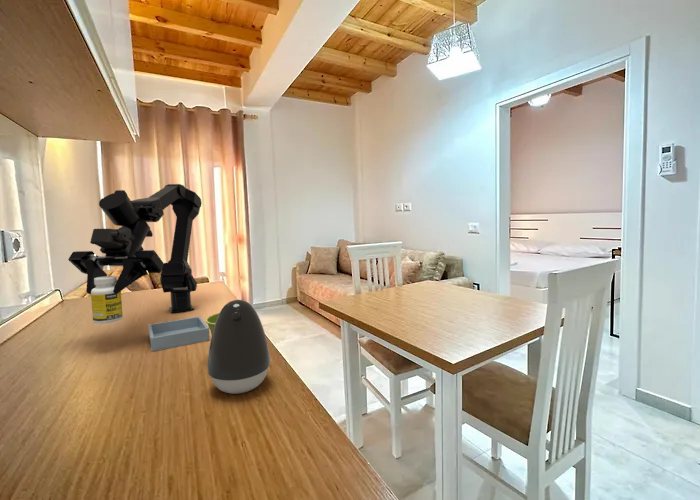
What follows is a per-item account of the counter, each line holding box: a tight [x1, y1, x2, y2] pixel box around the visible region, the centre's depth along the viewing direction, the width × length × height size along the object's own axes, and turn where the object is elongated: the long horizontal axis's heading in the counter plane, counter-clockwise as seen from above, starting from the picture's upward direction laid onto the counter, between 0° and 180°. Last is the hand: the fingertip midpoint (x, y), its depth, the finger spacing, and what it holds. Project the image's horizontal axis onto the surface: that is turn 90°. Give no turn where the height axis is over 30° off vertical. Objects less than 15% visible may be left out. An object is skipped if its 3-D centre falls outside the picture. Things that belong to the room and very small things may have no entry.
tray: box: [147, 316, 211, 352], centre depth 82 cm, size 12×12×3 cm
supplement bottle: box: [90, 275, 124, 325], centre depth 74 cm, size 5×5×10 cm
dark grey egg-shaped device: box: [207, 299, 271, 395], centre depth 57 cm, size 10×10×15 cm
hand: (101, 292), depth 73 cm, fingers closed on supplement bottle, 5 cm apart
